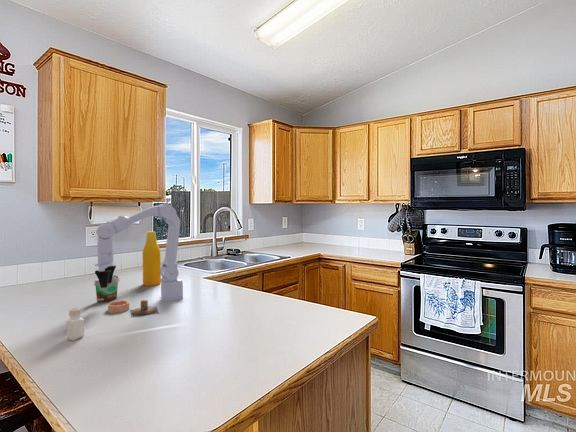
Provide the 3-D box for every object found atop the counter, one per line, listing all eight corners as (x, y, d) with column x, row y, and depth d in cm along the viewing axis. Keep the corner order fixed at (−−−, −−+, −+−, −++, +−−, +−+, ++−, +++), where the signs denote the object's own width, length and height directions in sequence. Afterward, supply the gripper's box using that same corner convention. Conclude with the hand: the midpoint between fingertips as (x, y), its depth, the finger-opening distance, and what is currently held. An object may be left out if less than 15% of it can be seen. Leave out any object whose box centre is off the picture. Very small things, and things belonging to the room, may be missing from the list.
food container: (106, 304, 143) (106, 281, 143) (94, 303, 145) (94, 280, 144) (125, 296, 156) (125, 275, 155) (114, 295, 157) (114, 275, 156)
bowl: (128, 307, 139) (128, 299, 139) (129, 312, 132) (129, 304, 132) (108, 309, 135) (108, 302, 135) (108, 315, 129) (108, 307, 129)
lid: (154, 307, 137) (154, 296, 137) (157, 313, 129) (156, 302, 129) (131, 310, 133) (131, 299, 133) (133, 316, 125) (132, 305, 125)
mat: (156, 307, 138) (156, 306, 138) (159, 314, 129) (159, 313, 129) (130, 311, 133) (130, 310, 133) (131, 319, 124) (131, 317, 124)
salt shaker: (72, 341, 104) (71, 312, 104) (65, 338, 106) (65, 309, 106) (85, 337, 107) (84, 308, 107) (79, 334, 109) (78, 306, 109)
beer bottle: (157, 281, 186) (156, 230, 185) (163, 284, 180) (162, 231, 179) (140, 283, 180) (139, 231, 179) (146, 287, 173) (145, 232, 172)
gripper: (99, 251, 142) (100, 282, 142) (89, 256, 128) (90, 290, 128) (117, 250, 144) (117, 280, 144) (109, 255, 130) (110, 288, 130)
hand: (106, 285), depth 136 cm, fingers open, 7 cm apart
